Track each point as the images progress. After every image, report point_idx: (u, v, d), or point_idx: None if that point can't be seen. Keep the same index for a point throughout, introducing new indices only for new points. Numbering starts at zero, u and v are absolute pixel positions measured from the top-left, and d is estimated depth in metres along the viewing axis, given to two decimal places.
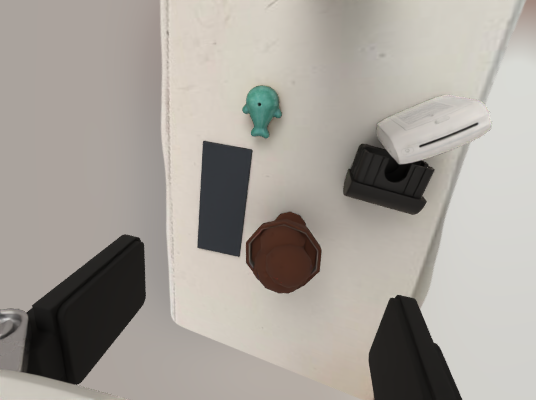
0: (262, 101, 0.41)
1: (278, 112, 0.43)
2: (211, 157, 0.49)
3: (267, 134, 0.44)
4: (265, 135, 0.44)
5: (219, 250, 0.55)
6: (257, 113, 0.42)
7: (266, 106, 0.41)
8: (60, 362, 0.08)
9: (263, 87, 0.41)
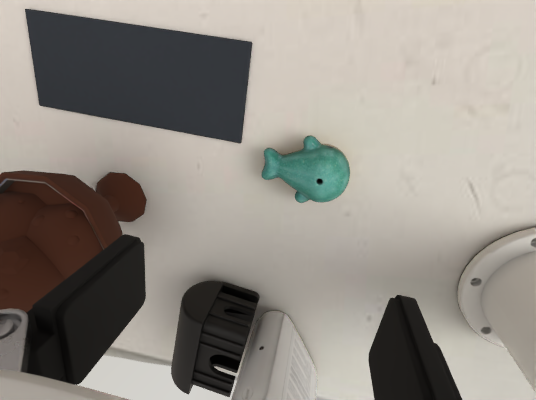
0: (325, 187, 0.23)
1: (304, 200, 0.26)
2: (220, 59, 0.24)
3: (267, 178, 0.26)
4: (265, 176, 0.26)
5: (37, 63, 0.27)
6: (303, 174, 0.23)
7: (314, 192, 0.23)
8: (60, 361, 0.08)
9: (346, 182, 0.24)
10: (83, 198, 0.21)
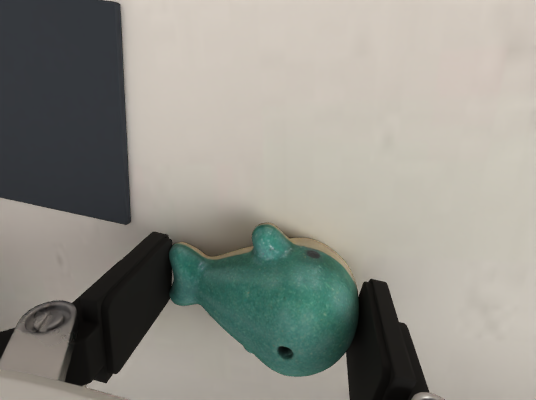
0: (299, 365, 0.09)
1: None
2: (52, 46, 0.10)
3: (181, 305, 0.12)
4: (175, 303, 0.12)
5: None
6: (247, 327, 0.10)
7: (274, 368, 0.10)
8: (102, 351, 0.09)
9: (352, 337, 0.10)
10: None
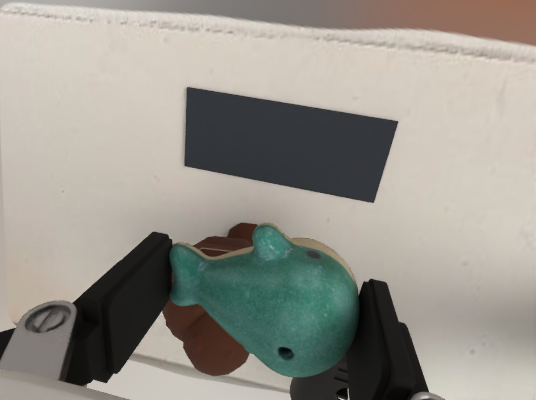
0: (299, 366, 0.09)
1: None
2: (366, 134, 0.28)
3: (181, 305, 0.12)
4: (176, 303, 0.12)
5: (189, 131, 0.31)
6: (247, 327, 0.10)
7: (275, 369, 0.10)
8: (102, 352, 0.09)
9: (353, 338, 0.10)
10: None
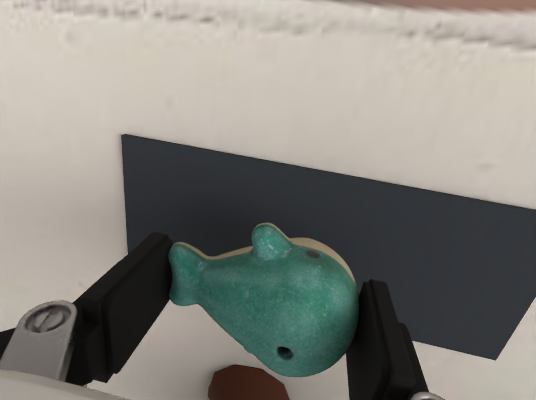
0: (298, 365, 0.09)
1: None
2: (502, 241, 0.13)
3: (181, 305, 0.12)
4: (175, 303, 0.12)
5: (133, 216, 0.16)
6: (246, 327, 0.10)
7: (274, 369, 0.10)
8: (103, 351, 0.09)
9: (352, 337, 0.10)
10: None
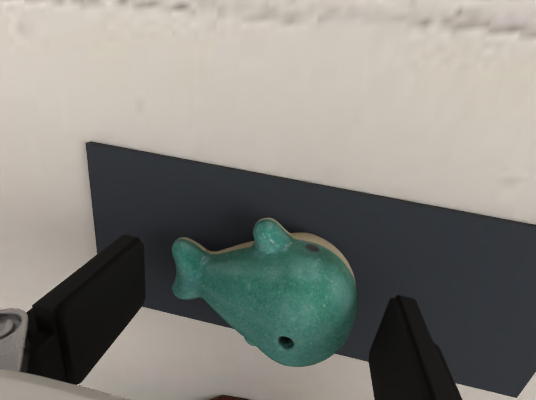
0: (299, 355, 0.09)
1: None
2: (528, 267, 0.11)
3: None
4: (178, 296, 0.12)
5: (103, 234, 0.14)
6: (248, 318, 0.10)
7: (275, 358, 0.10)
8: (60, 361, 0.08)
9: (351, 328, 0.10)
10: None
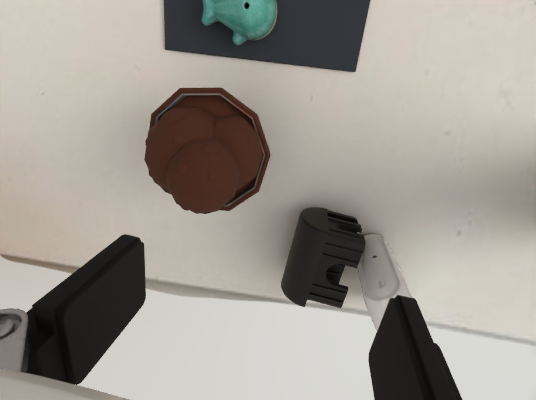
0: (251, 10, 0.26)
1: (239, 39, 0.29)
2: None
3: (207, 22, 0.29)
4: (204, 19, 0.29)
5: (168, 8, 0.30)
6: (233, 3, 0.26)
7: (243, 19, 0.27)
8: (60, 362, 0.08)
9: (272, 11, 0.27)
10: None
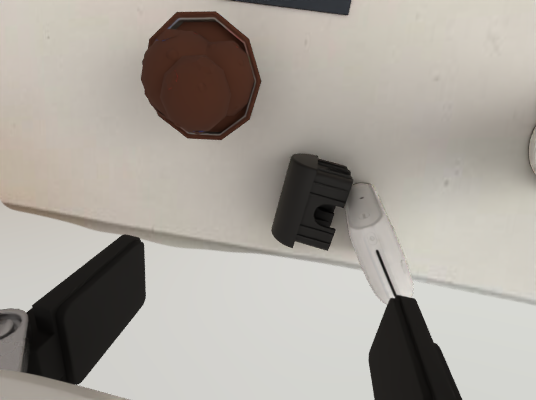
0: None
1: None
2: None
3: None
4: None
5: None
6: None
7: None
8: (60, 361, 0.08)
9: None
10: None
